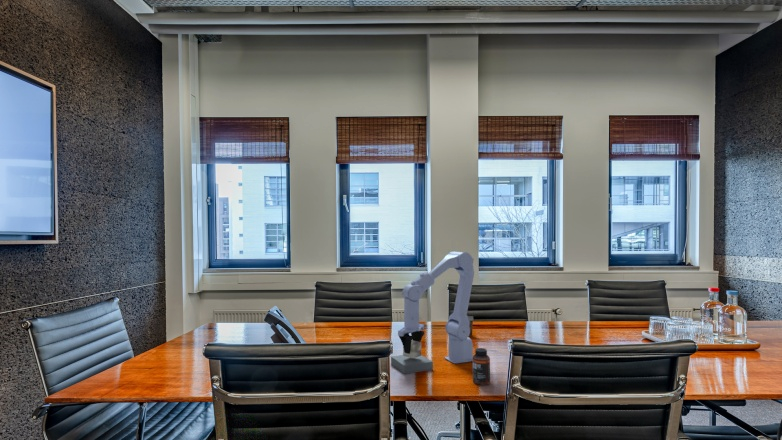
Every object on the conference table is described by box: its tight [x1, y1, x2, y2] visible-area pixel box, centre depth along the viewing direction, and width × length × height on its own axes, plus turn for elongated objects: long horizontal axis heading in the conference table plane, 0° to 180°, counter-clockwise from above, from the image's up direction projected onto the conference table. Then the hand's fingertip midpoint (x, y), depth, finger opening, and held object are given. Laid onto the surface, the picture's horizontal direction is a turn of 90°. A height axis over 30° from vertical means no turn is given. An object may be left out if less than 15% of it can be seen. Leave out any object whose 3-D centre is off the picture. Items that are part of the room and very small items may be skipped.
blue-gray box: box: [390, 354, 434, 375], centre depth 156 cm, size 12×12×3 cm
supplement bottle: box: [472, 347, 491, 386], centre depth 141 cm, size 6×6×11 cm
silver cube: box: [402, 340, 422, 358], centre depth 156 cm, size 5×5×5 cm
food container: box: [467, 314, 474, 337], centre depth 208 cm, size 12×6×10 cm, turn 17°
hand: (411, 351), depth 157 cm, fingers closed on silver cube, 5 cm apart
